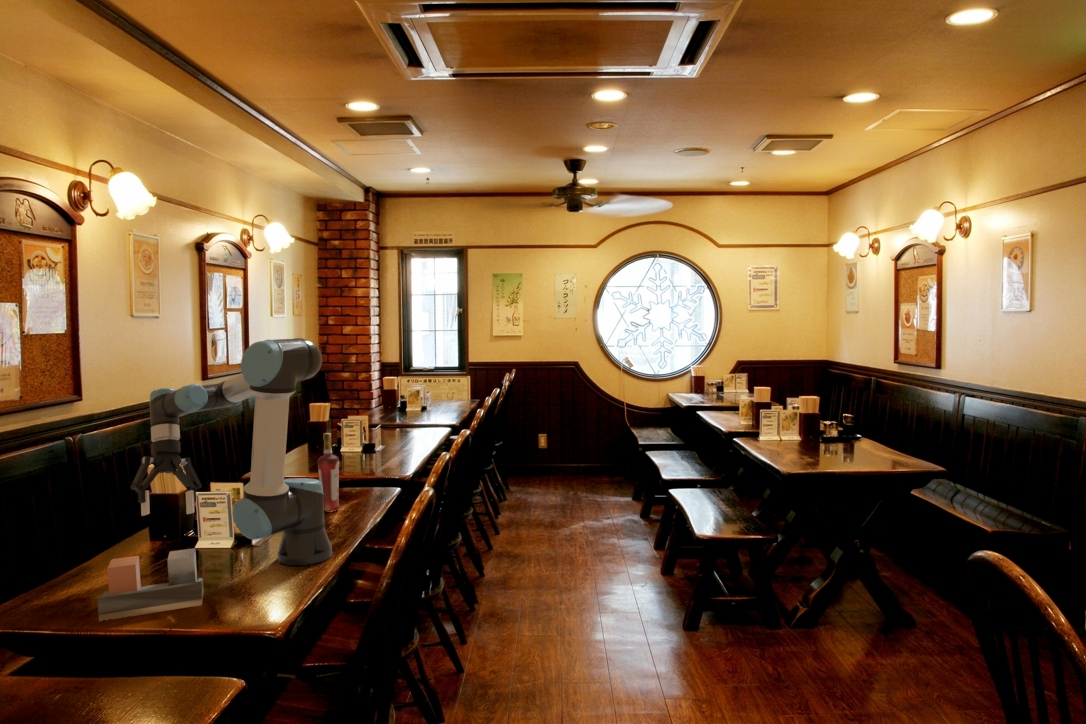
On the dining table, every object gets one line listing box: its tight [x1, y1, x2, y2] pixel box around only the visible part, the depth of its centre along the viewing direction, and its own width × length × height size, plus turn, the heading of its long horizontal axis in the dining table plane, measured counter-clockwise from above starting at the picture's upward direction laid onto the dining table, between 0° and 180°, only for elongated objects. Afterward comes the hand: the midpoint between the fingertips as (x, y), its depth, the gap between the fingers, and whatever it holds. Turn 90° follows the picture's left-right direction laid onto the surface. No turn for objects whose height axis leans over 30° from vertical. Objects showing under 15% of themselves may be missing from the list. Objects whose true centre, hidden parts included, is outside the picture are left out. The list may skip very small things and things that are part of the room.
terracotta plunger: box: [106, 555, 142, 595], centre depth 183 cm, size 7×6×9 cm
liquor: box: [317, 432, 341, 511], centre depth 263 cm, size 7×7×28 cm
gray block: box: [167, 548, 198, 586], centre depth 188 cm, size 7×6×9 cm
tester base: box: [97, 577, 204, 622], centre depth 182 cm, size 10×22×6 cm, turn 113°
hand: (168, 514), depth 210 cm, fingers open, 13 cm apart
